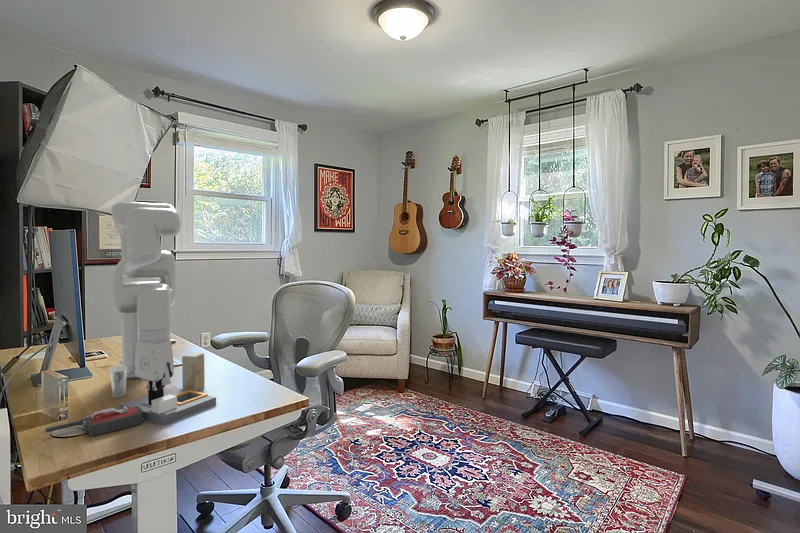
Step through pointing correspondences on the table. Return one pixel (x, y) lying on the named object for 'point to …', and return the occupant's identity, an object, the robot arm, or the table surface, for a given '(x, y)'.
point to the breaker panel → (192, 405)
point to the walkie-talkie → (106, 420)
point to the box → (193, 371)
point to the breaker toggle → (164, 404)
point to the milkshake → (118, 380)
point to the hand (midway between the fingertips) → (156, 403)
